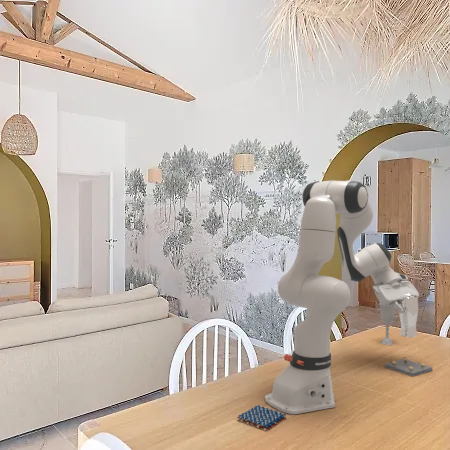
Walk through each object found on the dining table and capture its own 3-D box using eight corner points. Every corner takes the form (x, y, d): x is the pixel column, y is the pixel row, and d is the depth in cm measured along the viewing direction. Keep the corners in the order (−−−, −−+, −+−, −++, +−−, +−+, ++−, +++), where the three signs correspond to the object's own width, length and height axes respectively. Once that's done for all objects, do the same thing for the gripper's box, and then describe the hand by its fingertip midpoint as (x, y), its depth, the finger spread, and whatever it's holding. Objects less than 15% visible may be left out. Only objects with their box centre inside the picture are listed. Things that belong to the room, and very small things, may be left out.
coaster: (412, 376, 158) (412, 369, 158) (384, 367, 169) (384, 360, 169) (432, 370, 165) (432, 364, 165) (404, 361, 175) (404, 355, 175)
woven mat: (257, 409, 131) (257, 403, 131) (287, 420, 125) (287, 413, 125) (235, 422, 123) (235, 415, 123) (266, 434, 116) (266, 426, 116)
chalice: (377, 344, 199) (378, 304, 199) (379, 340, 205) (380, 302, 205) (394, 346, 196) (395, 306, 196) (396, 342, 202) (397, 303, 202)
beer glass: (415, 332, 170) (414, 293, 169) (421, 337, 163) (420, 297, 162) (396, 332, 171) (395, 294, 170) (402, 337, 164) (401, 297, 163)
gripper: (375, 279, 166) (397, 309, 158) (408, 275, 177) (431, 303, 169) (365, 289, 170) (387, 319, 162) (398, 284, 181) (420, 312, 173)
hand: (409, 311), depth 166 cm, fingers closed on beer glass, 7 cm apart
